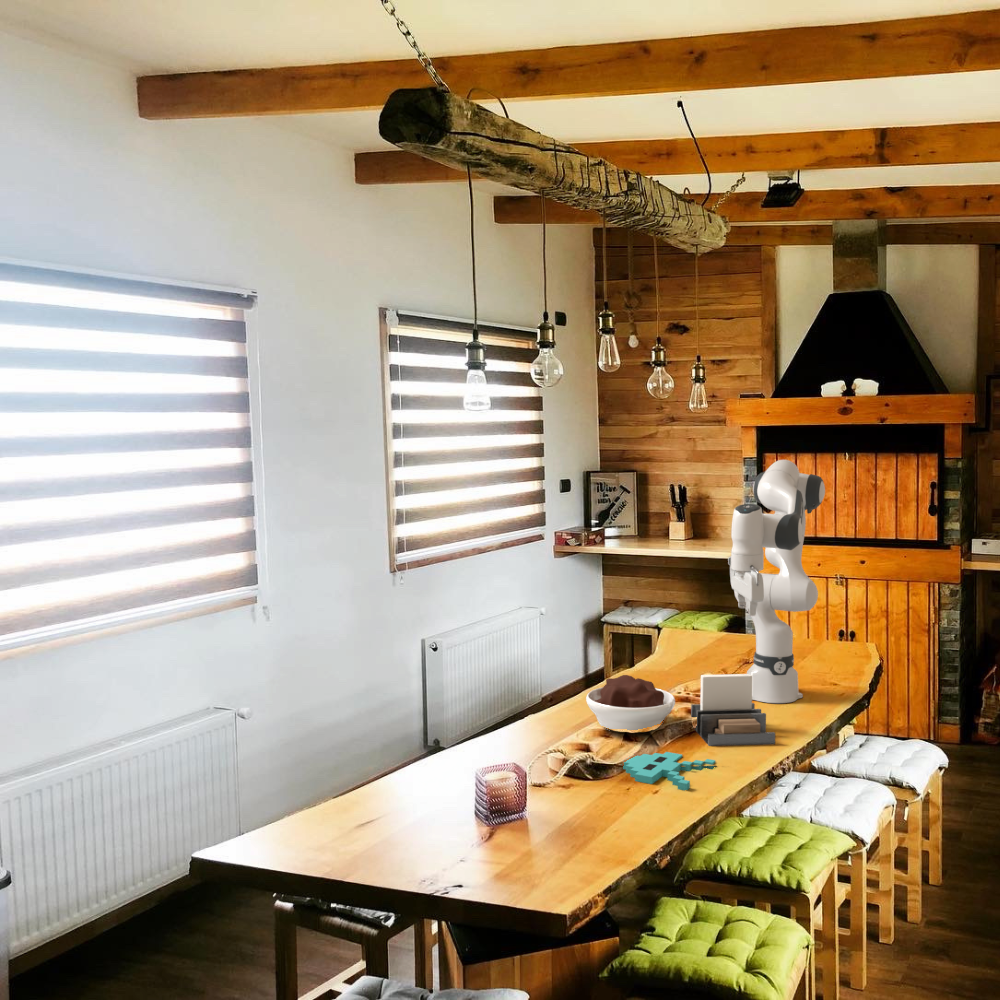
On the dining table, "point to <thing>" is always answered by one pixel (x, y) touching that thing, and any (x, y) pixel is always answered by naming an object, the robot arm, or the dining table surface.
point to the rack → (709, 723)
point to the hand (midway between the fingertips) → (746, 611)
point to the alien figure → (663, 768)
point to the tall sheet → (726, 692)
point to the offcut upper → (739, 726)
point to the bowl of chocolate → (629, 703)
